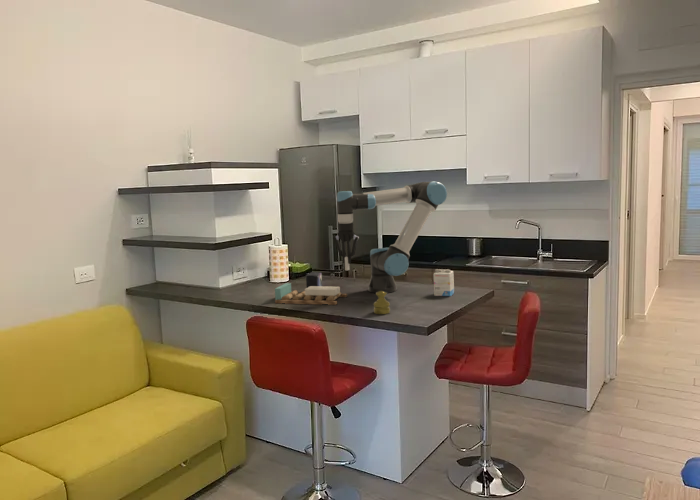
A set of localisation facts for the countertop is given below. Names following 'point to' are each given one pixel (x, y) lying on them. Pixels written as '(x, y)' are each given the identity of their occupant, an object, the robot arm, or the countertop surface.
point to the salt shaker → (381, 304)
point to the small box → (314, 279)
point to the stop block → (282, 290)
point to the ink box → (443, 282)
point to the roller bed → (308, 298)
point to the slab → (322, 290)
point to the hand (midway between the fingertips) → (347, 269)
